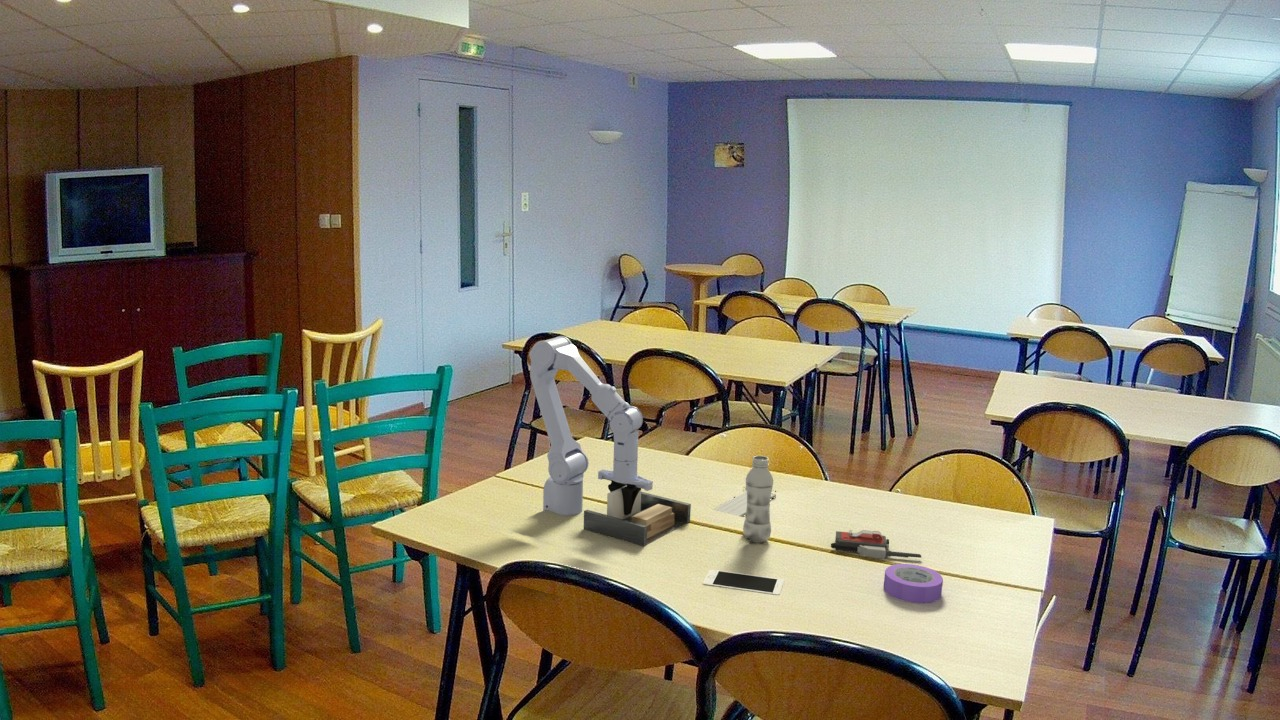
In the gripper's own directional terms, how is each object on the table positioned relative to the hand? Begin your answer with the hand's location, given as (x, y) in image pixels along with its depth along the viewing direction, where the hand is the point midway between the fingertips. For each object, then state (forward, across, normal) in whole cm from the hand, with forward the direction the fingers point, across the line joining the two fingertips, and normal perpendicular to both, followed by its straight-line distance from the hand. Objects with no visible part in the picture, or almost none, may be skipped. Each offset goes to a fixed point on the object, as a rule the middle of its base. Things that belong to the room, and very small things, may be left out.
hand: (624, 512), depth 236 cm
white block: (+2, 0, 0) cm, 2 cm away
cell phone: (+4, -38, +11) cm, 40 cm away
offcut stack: (+2, -8, 0) cm, 9 cm away
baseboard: (+4, -14, -28) cm, 32 cm away
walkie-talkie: (+4, -54, -23) cm, 59 cm away
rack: (+3, -4, 0) cm, 5 cm away
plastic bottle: (+4, -30, -12) cm, 32 cm away
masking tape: (+4, -68, -7) cm, 69 cm away
